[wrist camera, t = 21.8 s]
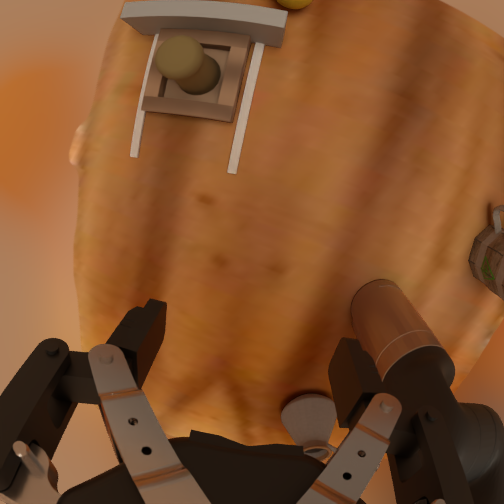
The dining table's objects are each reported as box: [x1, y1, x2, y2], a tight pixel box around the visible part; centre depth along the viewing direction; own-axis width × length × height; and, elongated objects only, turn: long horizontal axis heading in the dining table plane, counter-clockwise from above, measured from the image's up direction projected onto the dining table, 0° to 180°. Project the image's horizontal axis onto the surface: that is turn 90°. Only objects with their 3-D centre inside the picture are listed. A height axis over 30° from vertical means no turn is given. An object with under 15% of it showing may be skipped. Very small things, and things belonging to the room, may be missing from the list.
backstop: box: [120, 0, 288, 174], centre depth 32 cm, size 21×20×8 cm
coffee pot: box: [281, 394, 380, 471], centre depth 49 cm, size 21×12×15 cm, turn 64°
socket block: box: [141, 28, 251, 123], centre depth 33 cm, size 12×12×3 cm
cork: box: [155, 35, 221, 95], centre depth 29 cm, size 6×6×11 cm
